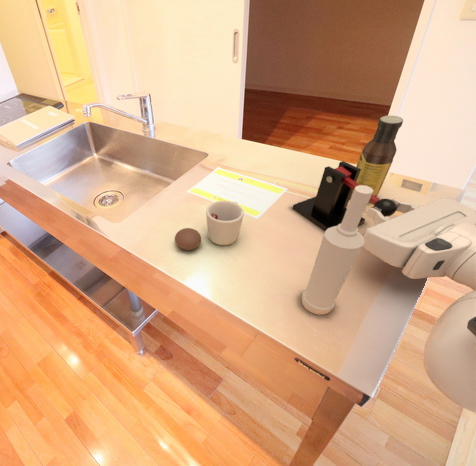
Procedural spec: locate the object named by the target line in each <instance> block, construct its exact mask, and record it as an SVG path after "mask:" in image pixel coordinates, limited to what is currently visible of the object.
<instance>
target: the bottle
mask: <svg viewBox="0 0 476 466" xmlns="http://www.w3.org/2000/svg"><path fill="white" fill-rule="evenodd" d="M372 193H373V189H372V188H371V187H368V186H364V185H359V186H356V187H355V189H354V192H353V194H352V197H350V199H349V202H348V204H347V207H346V208H347V210H346V213H345V215H344V218H343V220H342V223H341V224H339V225H338V226H334V227H331V228H328V229H327V230H326V231H324V232H323V236H322V240H321V243H320V245H319V248H318V252H317V255H316V257H315V261H314V264H313V267H312V270H311V273H310V276H309V279H308V282H307V285H306V288H305V289H304V291H302V295H301V303H302V307H304V308H305V310H307V311H308V312H309V313H311V314H315V315H317V316H319V315H320V316H323V315H326V314H329V313H330V312H331V311H332V310H333V309H334V307H335V305H336V299H337V297H338V295H339V293H340V291H341V289H342V288H343V285H344V284H345V282H346V279H347V278H348V275H349V274H350V272H351V270H352V268H353V266H354V265H355V262H356V260H357V259H358V256H359V255H360V252H361V251H362V249H363V248H364V247H363V245H364V237H363V235H362V233H361V232H360V231H359V227H358V226H359V225H358V224H359V222H360V219H361V217H362V218H363V214H364V212H365V210H366V208H367V205H368V204H369V203H370V202H369V200H370V198H371V195H372Z"/></svg>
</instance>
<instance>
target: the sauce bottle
mask: <svg viewBox="0 0 476 466" xmlns="http://www.w3.org/2000/svg"><path fill="white" fill-rule="evenodd" d="M403 123H404V119H403V118H402V117H401V116H397V115H383V116H381V117H380V118H379V120H378V122H377V128H376V131H375V133H374V135H373V138H372V139H370V140H369V141H367V142H366V143H365V145H364V147H363V148H362V150H361V153H360V155H359V158H358V161H357V164H356V165H355V167H357V168H359V169H361V171H360V174H359V176H358V179H357V181H356V183H358V184H359V185H364V186H368V187H371V188H372V189H373V193H372V194H373V195H374V196H376V197H377V198H378V194H380V191H381V189H382V187H383V184H384V182H385V180H386V178H387V175H388V173H389V171H390V169H391V166H392V164H393V162H394V158H395V156H396V153H397V146H396V142H395V140H396V137H397V134H398V132H399V130H400V128H401V127H402V126H403ZM353 192H354V190H353V191H352V194H353ZM352 194H351V197H352ZM351 197H350V198H351Z"/></svg>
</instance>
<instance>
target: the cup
mask: <svg viewBox="0 0 476 466" xmlns="http://www.w3.org/2000/svg"><path fill="white" fill-rule="evenodd" d="M205 214H206V215H205V217H206V227H207V236H208V238H209V240H210V241H211V242H212V243H214V244H216V245H219V246H229V245H231V244H233V243H234V242H236V241H237V239H238V237H239V234H240V230H241V227H242V222H243V220H244V216H245V211H244V208H243V207H242V205H240V204H239V203H238V202H236V201H232V200H231V201H230V200H220V201H218V200H217V201H215V202H212V203H210V204H209V205H208V206H207V207H206V210H205Z"/></svg>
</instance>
